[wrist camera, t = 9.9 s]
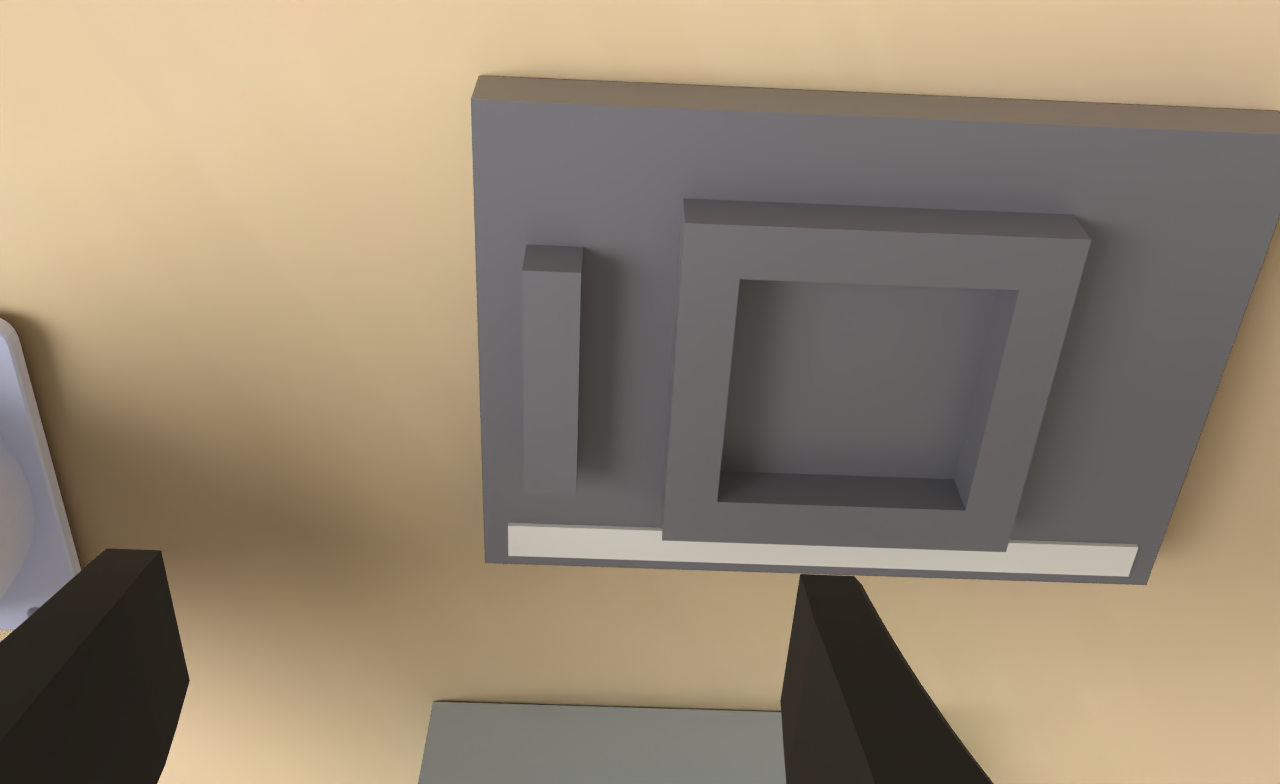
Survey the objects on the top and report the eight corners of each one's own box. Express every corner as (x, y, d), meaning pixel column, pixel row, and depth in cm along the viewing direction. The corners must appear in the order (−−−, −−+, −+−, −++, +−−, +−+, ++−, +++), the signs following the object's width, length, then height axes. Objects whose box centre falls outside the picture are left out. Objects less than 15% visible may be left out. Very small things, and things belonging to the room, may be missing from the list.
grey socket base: (491, 526, 26) (479, 595, 25) (478, 75, 21) (463, 121, 19) (1127, 547, 27) (1163, 618, 25) (1276, 111, 21) (1337, 158, 20)
